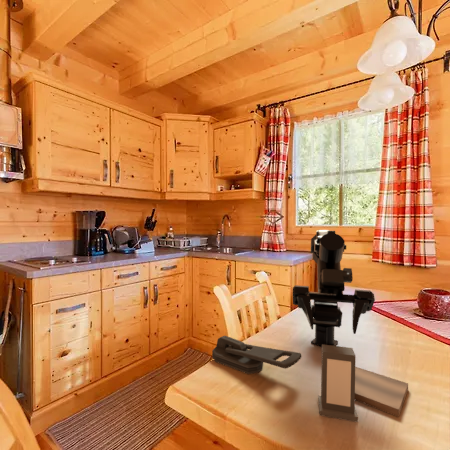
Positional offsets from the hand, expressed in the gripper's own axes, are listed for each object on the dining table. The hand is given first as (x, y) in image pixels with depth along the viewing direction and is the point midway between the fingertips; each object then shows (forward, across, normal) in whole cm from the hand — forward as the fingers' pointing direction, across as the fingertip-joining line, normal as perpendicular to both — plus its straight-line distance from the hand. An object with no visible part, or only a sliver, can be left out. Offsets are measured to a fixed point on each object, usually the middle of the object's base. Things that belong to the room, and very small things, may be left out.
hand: (333, 330), depth 66 cm
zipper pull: (+7, -19, +12) cm, 24 cm away
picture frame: (+15, 0, +4) cm, 16 cm away
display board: (+9, +9, +10) cm, 16 cm away
